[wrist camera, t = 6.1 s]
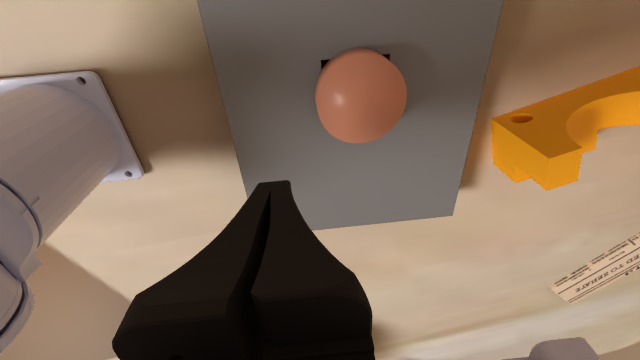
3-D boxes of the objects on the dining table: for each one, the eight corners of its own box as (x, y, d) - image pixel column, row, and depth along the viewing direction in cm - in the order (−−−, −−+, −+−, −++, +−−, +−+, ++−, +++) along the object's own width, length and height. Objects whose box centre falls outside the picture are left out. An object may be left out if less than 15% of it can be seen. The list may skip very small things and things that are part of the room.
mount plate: (260, 212, 27) (257, 236, 24) (178, -142, 14) (154, -167, 12) (437, 194, 27) (452, 215, 25) (505, -164, 15) (549, -193, 12)
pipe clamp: (492, 162, 26) (544, 209, 20) (489, 118, 23) (549, 158, 18) (641, 111, 24) (740, 148, 19) (655, 59, 22) (773, 84, 17)
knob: (314, 117, 22) (320, 147, 18) (308, 43, 19) (313, 59, 15) (383, 111, 22) (402, 139, 18) (387, 36, 19) (411, 50, 15)
